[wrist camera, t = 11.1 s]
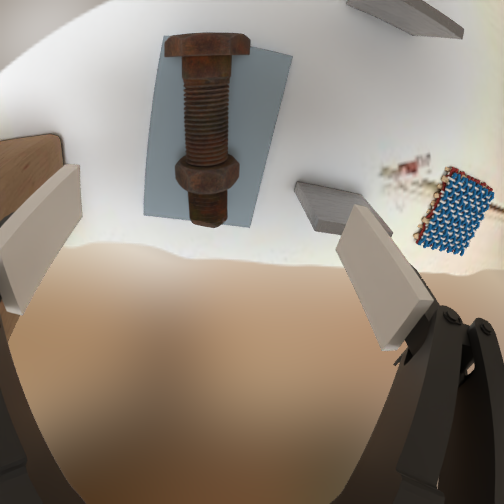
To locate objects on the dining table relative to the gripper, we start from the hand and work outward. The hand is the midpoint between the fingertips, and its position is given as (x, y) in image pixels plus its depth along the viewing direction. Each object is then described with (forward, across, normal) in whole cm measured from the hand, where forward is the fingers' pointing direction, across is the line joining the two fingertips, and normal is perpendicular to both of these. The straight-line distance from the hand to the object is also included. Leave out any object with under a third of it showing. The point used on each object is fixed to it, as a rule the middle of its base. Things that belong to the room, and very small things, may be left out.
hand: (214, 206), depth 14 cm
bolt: (+12, +1, -1) cm, 12 cm away
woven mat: (+15, -29, +2) cm, 33 cm away
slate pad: (+13, +1, 0) cm, 13 cm away
